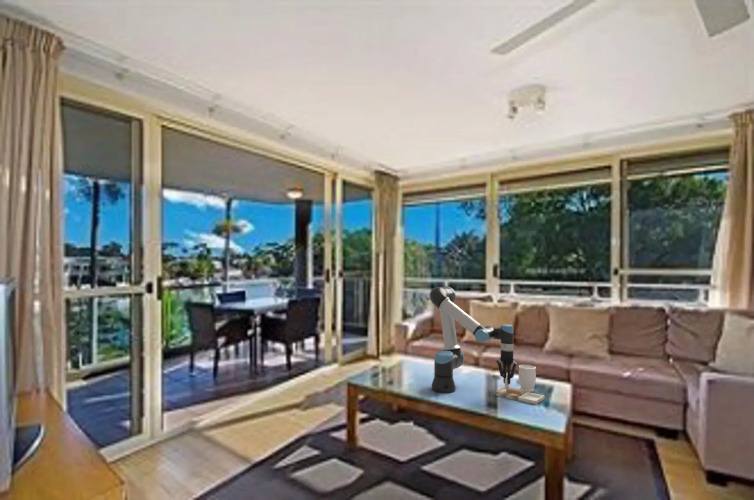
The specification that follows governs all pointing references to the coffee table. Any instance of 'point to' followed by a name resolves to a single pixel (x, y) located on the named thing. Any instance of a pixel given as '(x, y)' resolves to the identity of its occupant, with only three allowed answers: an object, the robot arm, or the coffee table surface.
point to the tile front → (518, 391)
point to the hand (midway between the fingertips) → (506, 388)
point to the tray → (531, 398)
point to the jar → (527, 377)
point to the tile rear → (510, 390)
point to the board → (507, 394)
